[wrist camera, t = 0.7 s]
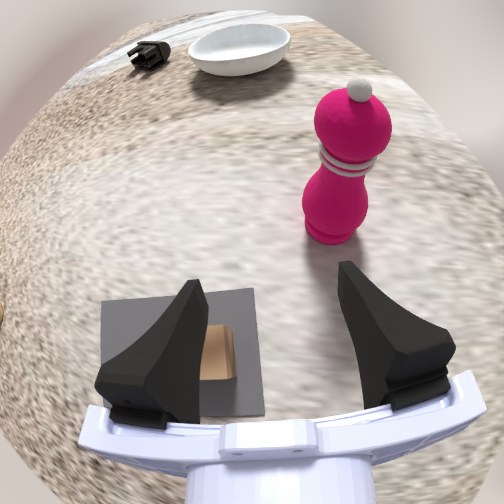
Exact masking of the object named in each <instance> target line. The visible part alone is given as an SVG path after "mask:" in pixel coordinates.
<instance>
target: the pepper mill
mask: <svg viewBox="0 0 504 504" xmlns="http://www.w3.org/2000/svg"><path fill="white" fill-rule="evenodd" d="M314 126H315V131H316V134H317V136H318V138H319V146H318V155H319V158H320V160H321V161H322V164H321V167H320V169H319V170H318V171H317V172H316V173H315V174H314V175H313V176H312V177H311V178H310V180H309V181H308V183H307V185H306V187H305V189H304V193H303V198H302V207H303V211H304V214H305V225H306V228H307V230H308V232H309V234H310V235H311V236H312V237H313V238H314V239H316V240H317V241H319V242H321V243H324V244H328V245H336V244H341V243H343V242H345V241H346V240H348V239H349V238H350V237H351V236H352V234H353V232H354V230H355V229H357V228H358V227H359V226H360V225H361V224H362V222H363V220H364V218H365V216H366V213H367V209H368V196H367V191H366V188H365V185H364V178H365V174H367V173H368V172H370V171H371V170H372V168H373V166H374V164H375V161H376V159H377V155H378V154H380V153H382V152H383V151H384V150H385V148H386V146H387V145H388V143H389V140H390V137H391V132H392V124H391V119H390V115H389V113H388V111H387V109H386V107H385V106H384V105H383V104H382V102H381V101H380V100H378V99H377V98H376V97H375V96H374V95H372V87H371V85H370V84H369V82H367V81H366V80H365V79H362V78H354V79H352V80H351V81H349V82H348V84H347V88H343V89H337V90H334V91H332V92H330V93H328V94H327V95H325V96H324V97H323V98H322V99H321V101H320V102H319V104H318V106H317V108H316V111H315V116H314Z"/></svg>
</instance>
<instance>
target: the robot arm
mask: <svg viewBox="0 0 504 504" xmlns="http://www.w3.org/2000/svg"><path fill="white" fill-rule="evenodd" d="M338 296H339V301H340V305H341V309H342V312H343V315H344V318H345V321H346V323H347V326H348V329H349V332H350V335H351V338H352V341H353V344H354V347H355V351H356V356H357V361H358V366H359V372H360V378H361V385H362V392H363V400H364V410H362V411H357V412H352V413H347V414H342V415H336V416H330V417H324V418H317V419H310V420H307V419H290V420H279V421H265V422H243V423H230V424H226V425H201V424H200V412H199V388H200V367H201V358H202V353H203V348H204V342H205V337H206V331H207V326H208V314H209V306H208V303H207V300H206V298H205V295H204V292H203V289H202V287H201V284H200V281H199V279H195V280H188V281H187V282H186V283H185V285H184V286H183V287H182V289H181V290H180V292H179V293H178V294H177V296H176V297H175V298H174V300H173V301H172V302H171V304H170V305H169V306H168V308H167V309H166V310H165V311H164V313H163V314H162V315H161V316H160V318H159V319H158V320H157V321H156V322H155V323H154V324H153V325H152V326H151V327H150V328H149V329H148V330H147V331H146V332H145V333H144V334H143V335H142V336H141V337H140V338H139V339H138V340H136V341H135V342H134V343H133V344H132V345H131V346H129V347H128V348H127V349H125V350H124V351H122V352H121V353H120V354H118V355H117V356H115V357H113V358H112V359H110V360H109V361H107V362H105V363H103V364H102V365H101V367H100V370H99V373H98V376H97V378H96V381H95V384H94V387H95V389H96V391H97V392H98V393H99V394H100V395H101V396H102V397H103V398H104V399H106V400H107V401H108V402H109V403H110V404H111V405H112V408H111V410H109V409H107V408H104V407H99V406H94V405H89V407H88V410H87V413H86V416H85V420H84V423H83V426H82V430H81V434H80V437H79V441H78V444H79V445H80V446H82V447H84V448H86V449H87V450H89V451H91V452H93V453H95V454H97V455H99V456H101V457H103V458H105V459H107V460H111V461H114V462H118V463H121V464H125V465H129V466H133V467H137V468H140V469H145V470H149V471H153V472H158V473H162V474H167V475H173V476H178V477H184V478H187V482H186V493H185V504H377V501H376V493H375V486H374V478H373V472H372V466H375V465H378V464H382V463H385V462H388V461H391V460H394V459H397V458H399V457H402V456H405V455H408V454H410V453H413V452H415V451H418V450H420V449H423V448H425V447H427V446H430V445H432V444H434V443H437V442H439V441H441V440H443V439H446V438H448V437H450V436H452V435H454V434H456V433H458V432H460V431H462V430H464V429H465V428H467V427H468V426H469V425H471V424H472V423H473V422H474V421H475V420H477V419H478V418H479V417H480V416H482V415H483V414H484V413H485V412H486V411H487V408H486V405H485V402H484V400H483V397H482V395H481V392H480V390H479V387H478V385H477V382H476V380H475V378H474V375H473V373H472V371H471V370H467V371H465V372H463V373H460V374H458V375H455V376H453V377H452V378H450V379H449V380H448V378H447V374H448V369H447V367H446V365H447V364H448V362H449V361H450V359H451V358H452V356H453V354H454V352H455V350H456V346H455V344H454V341H453V339H452V337H451V335H450V334H449V332H448V330H446V329H444V328H441V327H439V326H436V325H434V324H431V323H429V322H427V321H425V320H423V319H421V318H419V317H418V316H416V315H414V314H412V313H411V312H409V311H407V310H406V309H404V308H403V307H401V306H400V305H398V304H397V303H396V302H394V301H393V300H392V299H390V298H389V297H388V296H387V295H385V294H384V293H383V292H382V291H381V290H380V289H379V288H377V287H376V286H375V285H374V284H373V283H372V282H371V281H370V280H369V279H368V278H367V277H366V276H365V275H364V274H363V273H362V272H361V271H360V270H359V269H358V268H357V267H356V266H355V265H354V263H353V262H351V261H344V262H339V274H338Z"/></svg>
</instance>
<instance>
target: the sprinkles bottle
mask: <svg viewBox="0 0 504 504" xmlns="http://www.w3.org/2000/svg"><path fill="white" fill-rule="evenodd" d="M2 318H3V308H2V306H1V304H0V323H1V321H2Z"/></svg>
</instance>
